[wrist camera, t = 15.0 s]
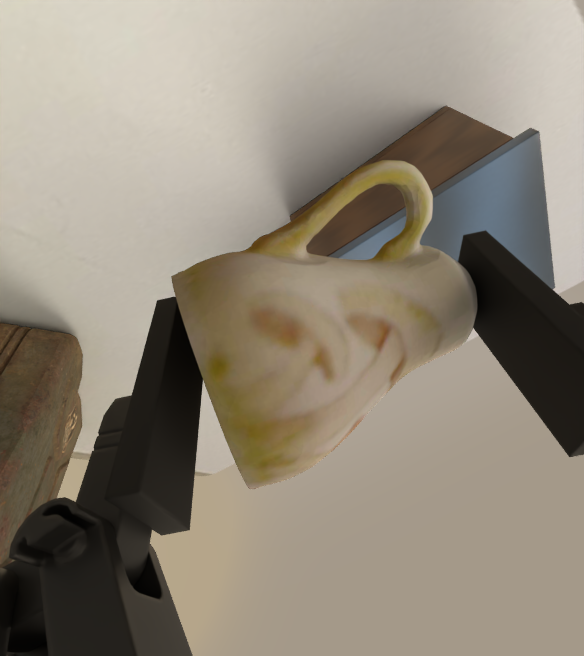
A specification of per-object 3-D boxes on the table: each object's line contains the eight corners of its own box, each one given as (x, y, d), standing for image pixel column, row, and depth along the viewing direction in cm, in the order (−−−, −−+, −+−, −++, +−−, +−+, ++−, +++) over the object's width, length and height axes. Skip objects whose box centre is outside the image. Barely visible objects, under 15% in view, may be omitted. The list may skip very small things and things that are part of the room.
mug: (441, 319, 16) (405, 559, 11) (253, 267, 18) (148, 453, 13) (538, 175, 10) (557, 588, 5) (230, 116, 11) (5, 371, 6)
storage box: (446, 105, 25) (513, 137, 19) (482, 237, 33) (536, 287, 27) (289, 216, 29) (304, 270, 23) (357, 307, 38) (380, 364, 32)
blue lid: (530, 126, 19) (539, 130, 18) (548, 282, 27) (555, 288, 27) (304, 270, 23) (306, 277, 23) (380, 364, 32) (383, 371, 31)
